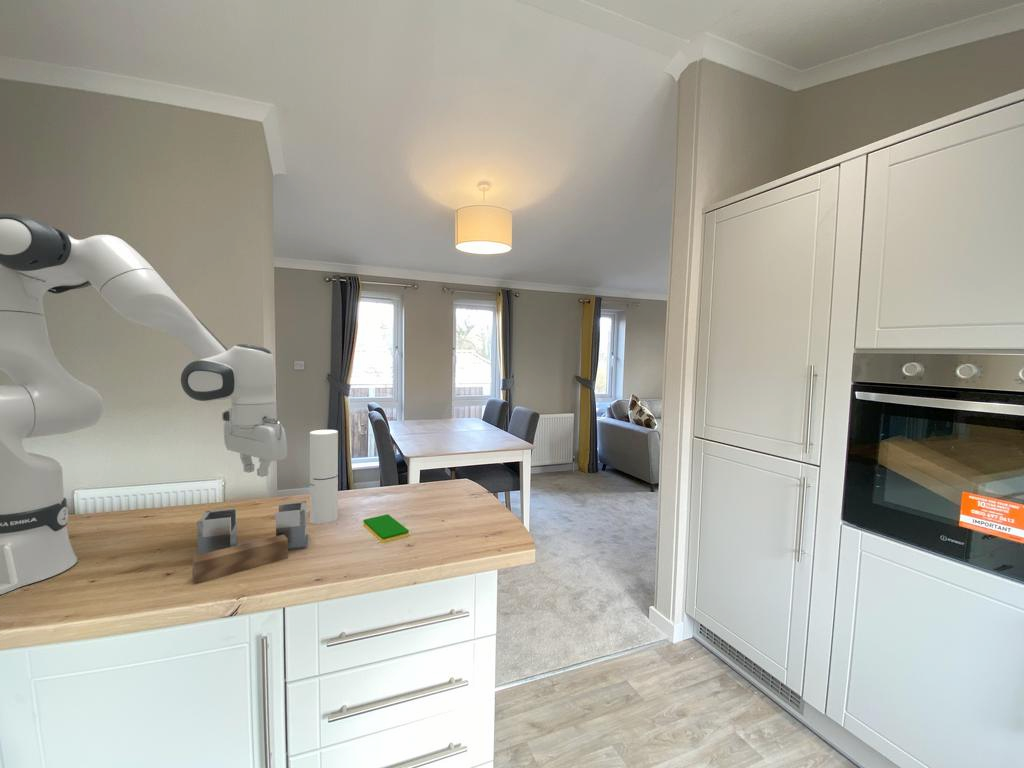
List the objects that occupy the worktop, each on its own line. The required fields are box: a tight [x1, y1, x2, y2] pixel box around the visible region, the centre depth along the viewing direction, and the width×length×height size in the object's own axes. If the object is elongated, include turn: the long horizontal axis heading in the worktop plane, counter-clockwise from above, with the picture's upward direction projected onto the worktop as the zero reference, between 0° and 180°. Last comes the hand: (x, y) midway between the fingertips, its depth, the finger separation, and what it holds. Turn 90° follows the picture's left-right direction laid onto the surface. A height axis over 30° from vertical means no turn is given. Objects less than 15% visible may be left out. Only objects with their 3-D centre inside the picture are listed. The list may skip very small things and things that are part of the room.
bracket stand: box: [196, 500, 310, 555], centre depth 99 cm, size 22×7×10 cm, turn 113°
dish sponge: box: [362, 513, 410, 544], centre depth 112 cm, size 7×14×2 cm, turn 39°
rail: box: [191, 534, 289, 585], centre depth 91 cm, size 17×3×5 cm, turn 133°
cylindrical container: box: [309, 429, 339, 525], centre depth 118 cm, size 7×7×25 cm
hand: (255, 473), depth 99 cm, fingers open, 4 cm apart
